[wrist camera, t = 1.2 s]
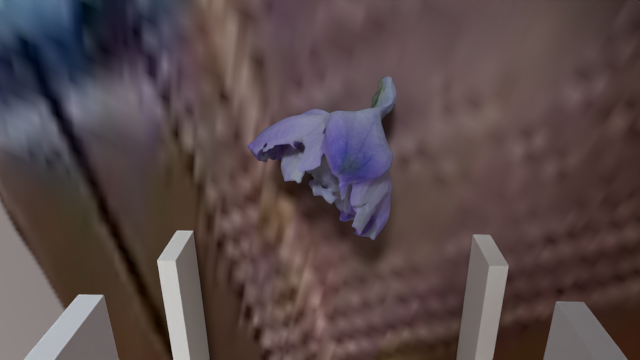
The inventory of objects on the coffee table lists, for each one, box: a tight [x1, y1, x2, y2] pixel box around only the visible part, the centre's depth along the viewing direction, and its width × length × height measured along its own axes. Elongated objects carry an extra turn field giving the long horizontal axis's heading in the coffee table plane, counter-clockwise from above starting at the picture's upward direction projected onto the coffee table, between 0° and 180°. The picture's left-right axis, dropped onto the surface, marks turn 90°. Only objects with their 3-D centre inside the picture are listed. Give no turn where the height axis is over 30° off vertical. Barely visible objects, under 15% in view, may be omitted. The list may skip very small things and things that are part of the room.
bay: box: [157, 231, 509, 360], centre depth 35 cm, size 15×22×4 cm
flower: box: [248, 77, 396, 241], centre depth 28 cm, size 9×9×10 cm
